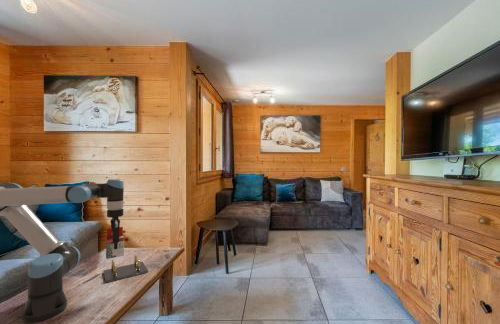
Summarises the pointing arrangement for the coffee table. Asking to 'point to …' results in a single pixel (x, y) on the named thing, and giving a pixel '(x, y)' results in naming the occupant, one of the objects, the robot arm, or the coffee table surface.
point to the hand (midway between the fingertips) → (114, 253)
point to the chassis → (124, 271)
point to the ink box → (110, 239)
